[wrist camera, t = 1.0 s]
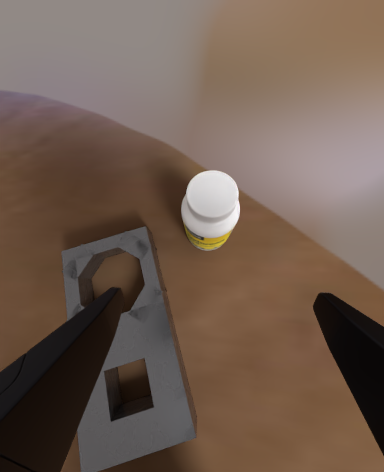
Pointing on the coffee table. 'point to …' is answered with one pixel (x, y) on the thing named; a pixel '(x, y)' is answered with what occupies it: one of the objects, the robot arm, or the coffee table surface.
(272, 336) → the coffee table surface
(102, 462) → the socket plate
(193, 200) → the supplement bottle
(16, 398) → the robot arm
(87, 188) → the coffee table surface
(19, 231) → the coffee table surface
